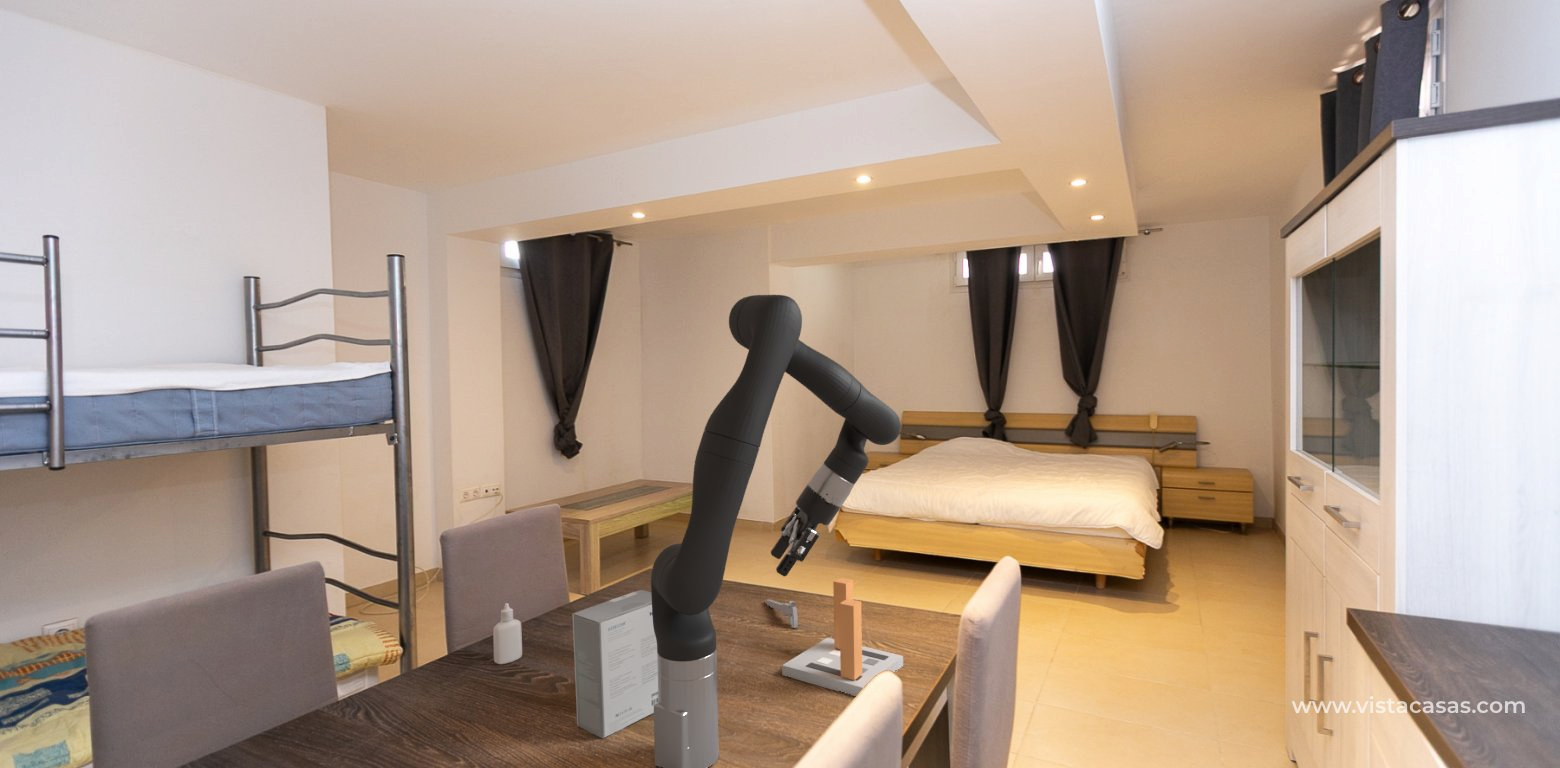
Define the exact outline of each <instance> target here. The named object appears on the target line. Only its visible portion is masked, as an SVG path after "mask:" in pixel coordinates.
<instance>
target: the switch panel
mask: <svg viewBox="0 0 1560 768" xmlns="http://www.w3.org/2000/svg"><path fill="white" fill-rule="evenodd" d="M903 667H904V655H901V654H896V653H892V652H888V651H885V650H880V649H876V648H872V647H868V646H864V645H862V675H861V676H860V677H858V678H857V679H856V680H852V679H848V678H844V677H841V664H840V649H836V648H834V638H831V637H826V638H824V639H823V640H820V642H818V643H816V644H815V645H813V646H811V647H809V648H808V649H807V650H804V651H803V652H801V653H800V654H798V655H796V656H795V657H793V658H791V659H790V660H788V661H787V662H785V663H784V664H782V668H781V670H782V676H785V677H787V676H788V678H790V677H791V679H795V680H798V681H802V682H805V683H808V684H812V685H815V686H818V687H821V688H825V689H829V690H832V691H836V692H839V691H841V692H840V693H842V692H846V693H849V694H852V695H851V696H854V697H856V695H857V694H858V693H859V692H860V691H861V690H862V689H863V688H864V686H865V685H866V684H867V683H868V682H869V681H870V680H871V679H872V678H873V677H874V676H875V675H877V674H878V673H880V672H882V671H885V670H891V671H893V672H895V670H897V671H899V670H900V669H901V668H903ZM898 669H899V670H898ZM895 673H896V672H895ZM846 693H845V694H846ZM849 694H848V695H849Z"/></svg>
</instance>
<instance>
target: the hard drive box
mask: <svg viewBox="0 0 1560 768" xmlns="http://www.w3.org/2000/svg"><path fill="white" fill-rule="evenodd" d="M572 632H573V637H572V638H573V658H574V677H575V678H574V680H575V681H574V682H575V697H576V700H575V701H576V703H575V705H576V724H577V727H579V728H581V729H583V730H585V731H586V732H589V733H590V734H592V735H595V736H596V737H598V738H600V739H604V738H606V737H609V736H610V735H612V734H615V733H617V732H619V731H621V730H623V729H625V728H627V727H628V726H630V725H633V724H635V723H636V722H638V721H641V720H642V719H644V718H646V717H648V716H650V715H654V705H655V704H656V703H658V665H657V641H656V636H655V632H654V627H653V616H652V596H651V591H647V590H644V589H638V590H635V591H632V592H630V593H627V594H624V595H621V596H619V597H616V598H612V599H610V600H606V601H603V602H601V603H599V604H596V605H593V606H591V607H588V608H584V609H582V610H578V611H576V612H574V613H572Z"/></svg>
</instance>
